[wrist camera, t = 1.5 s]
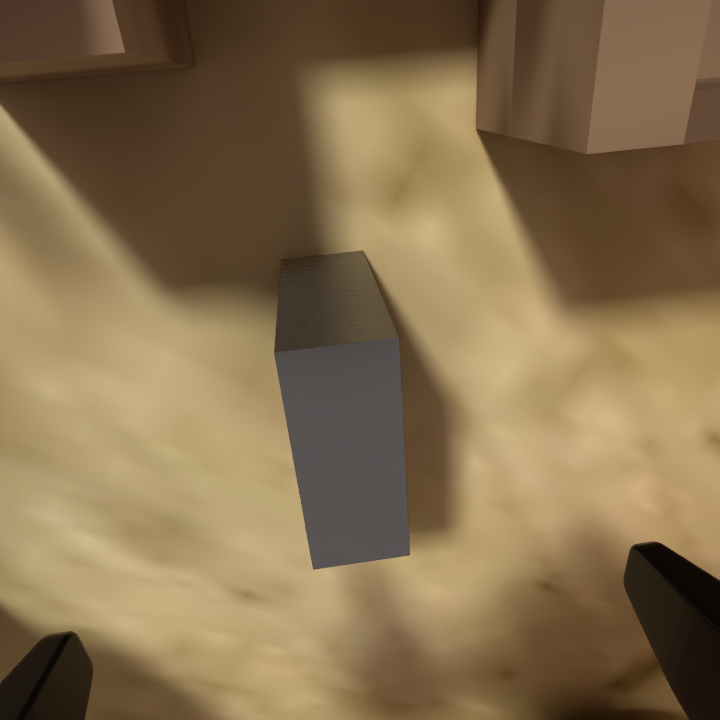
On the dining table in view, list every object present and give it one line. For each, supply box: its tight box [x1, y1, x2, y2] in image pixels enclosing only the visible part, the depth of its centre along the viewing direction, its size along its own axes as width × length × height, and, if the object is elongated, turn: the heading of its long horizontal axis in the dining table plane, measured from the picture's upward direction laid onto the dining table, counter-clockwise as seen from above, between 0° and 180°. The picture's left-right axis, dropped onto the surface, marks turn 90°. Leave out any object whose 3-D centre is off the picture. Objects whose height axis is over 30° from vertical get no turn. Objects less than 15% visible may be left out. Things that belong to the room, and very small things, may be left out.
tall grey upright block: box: [274, 251, 410, 569], centre depth 14 cm, size 6×2×6 cm, turn 5°
